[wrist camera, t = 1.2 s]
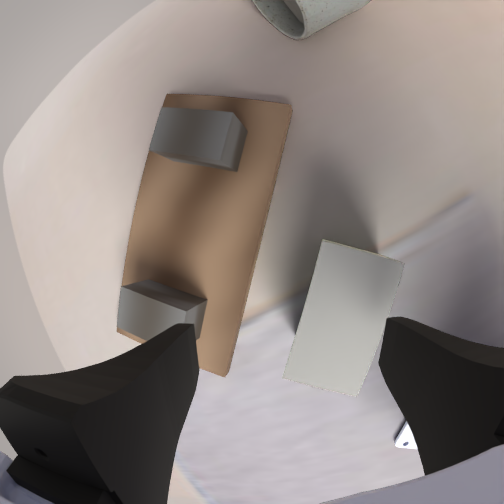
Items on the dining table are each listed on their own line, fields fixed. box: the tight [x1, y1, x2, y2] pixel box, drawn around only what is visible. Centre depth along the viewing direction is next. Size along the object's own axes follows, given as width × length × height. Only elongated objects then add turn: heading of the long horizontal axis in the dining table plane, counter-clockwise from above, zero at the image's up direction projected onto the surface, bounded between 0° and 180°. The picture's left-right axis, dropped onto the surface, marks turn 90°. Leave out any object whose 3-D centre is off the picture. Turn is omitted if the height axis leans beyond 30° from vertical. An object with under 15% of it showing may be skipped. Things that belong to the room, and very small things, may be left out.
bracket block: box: [282, 239, 404, 397], centre depth 16 cm, size 4×7×7 cm, turn 166°
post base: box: [117, 94, 293, 377], centre depth 20 cm, size 10×20×4 cm, turn 166°
